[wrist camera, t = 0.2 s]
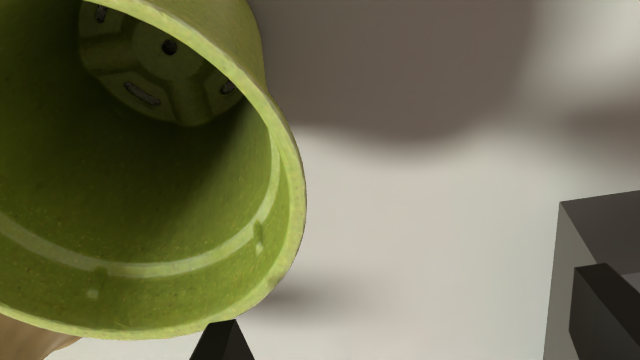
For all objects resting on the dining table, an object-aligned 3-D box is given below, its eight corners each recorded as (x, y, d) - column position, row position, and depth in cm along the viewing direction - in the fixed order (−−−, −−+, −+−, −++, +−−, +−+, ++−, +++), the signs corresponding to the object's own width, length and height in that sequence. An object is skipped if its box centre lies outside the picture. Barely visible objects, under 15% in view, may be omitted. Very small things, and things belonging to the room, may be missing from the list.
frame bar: (606, 357, 29) (647, 438, 25) (541, 365, 29) (572, 446, 26) (643, 186, 22) (708, 263, 18) (557, 198, 22) (605, 277, 19)
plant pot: (230, 194, 22) (191, 384, 15) (-7, 80, 19) (-198, 252, 12) (364, 4, 17) (399, 149, 10) (80, -189, 14) (-146, -169, 7)
